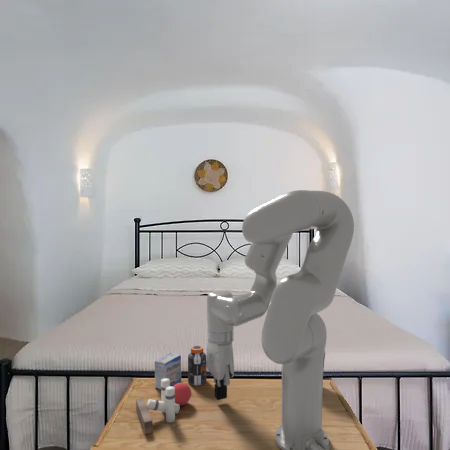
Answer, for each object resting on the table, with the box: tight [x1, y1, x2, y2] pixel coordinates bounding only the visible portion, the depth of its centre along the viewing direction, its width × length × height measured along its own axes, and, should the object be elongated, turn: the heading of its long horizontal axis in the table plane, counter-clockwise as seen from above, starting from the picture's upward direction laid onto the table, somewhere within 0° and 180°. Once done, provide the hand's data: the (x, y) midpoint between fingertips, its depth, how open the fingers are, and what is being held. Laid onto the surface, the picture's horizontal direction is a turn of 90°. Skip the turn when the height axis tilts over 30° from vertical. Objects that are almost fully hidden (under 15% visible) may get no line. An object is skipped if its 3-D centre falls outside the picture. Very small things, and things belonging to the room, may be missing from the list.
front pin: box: [146, 398, 181, 415], centre depth 101 cm, size 2×2×8 cm
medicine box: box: [154, 352, 182, 390], centre depth 118 cm, size 8×4×9 cm, turn 148°
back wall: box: [135, 397, 154, 435], centre depth 99 cm, size 12×2×3 cm, turn 23°
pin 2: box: [165, 386, 176, 423], centre depth 99 cm, size 2×2×8 cm
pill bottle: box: [187, 345, 207, 386], centre depth 120 cm, size 6×6×11 cm
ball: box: [173, 382, 192, 406], centre depth 106 cm, size 6×6×6 cm
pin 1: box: [160, 378, 170, 414], centre depth 103 cm, size 2×2×8 cm
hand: (220, 397), depth 107 cm, fingers closed
